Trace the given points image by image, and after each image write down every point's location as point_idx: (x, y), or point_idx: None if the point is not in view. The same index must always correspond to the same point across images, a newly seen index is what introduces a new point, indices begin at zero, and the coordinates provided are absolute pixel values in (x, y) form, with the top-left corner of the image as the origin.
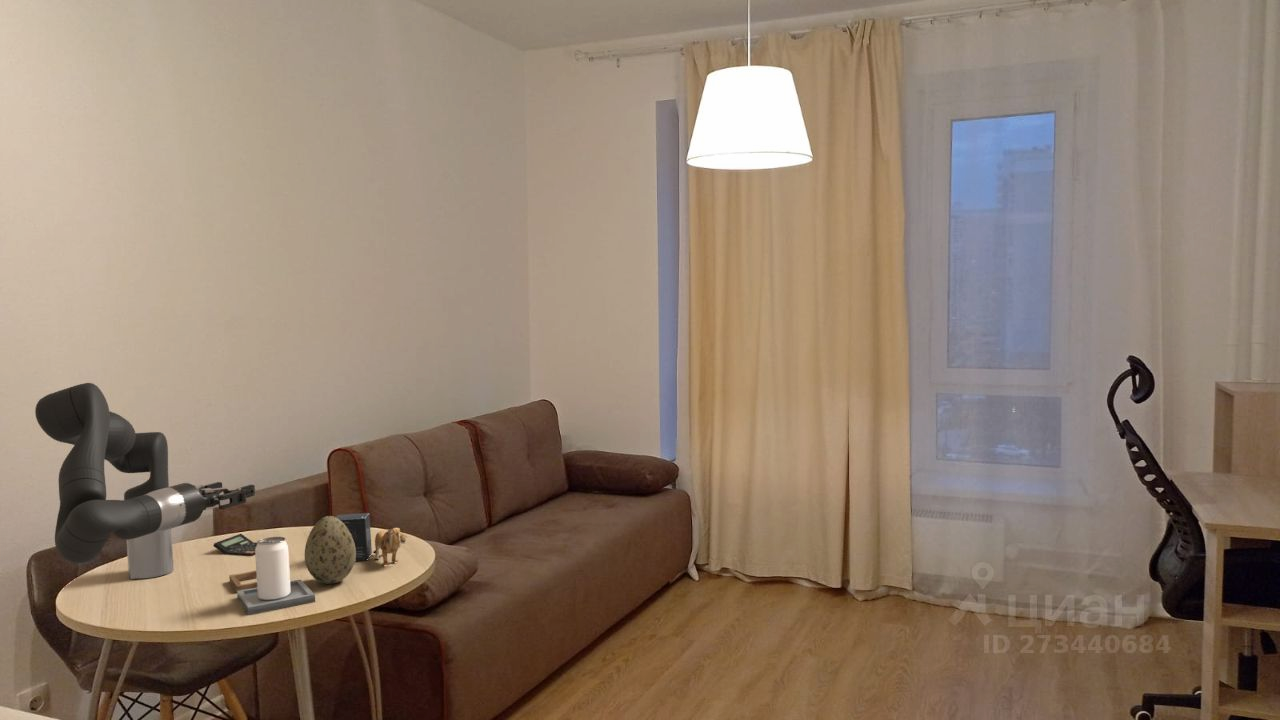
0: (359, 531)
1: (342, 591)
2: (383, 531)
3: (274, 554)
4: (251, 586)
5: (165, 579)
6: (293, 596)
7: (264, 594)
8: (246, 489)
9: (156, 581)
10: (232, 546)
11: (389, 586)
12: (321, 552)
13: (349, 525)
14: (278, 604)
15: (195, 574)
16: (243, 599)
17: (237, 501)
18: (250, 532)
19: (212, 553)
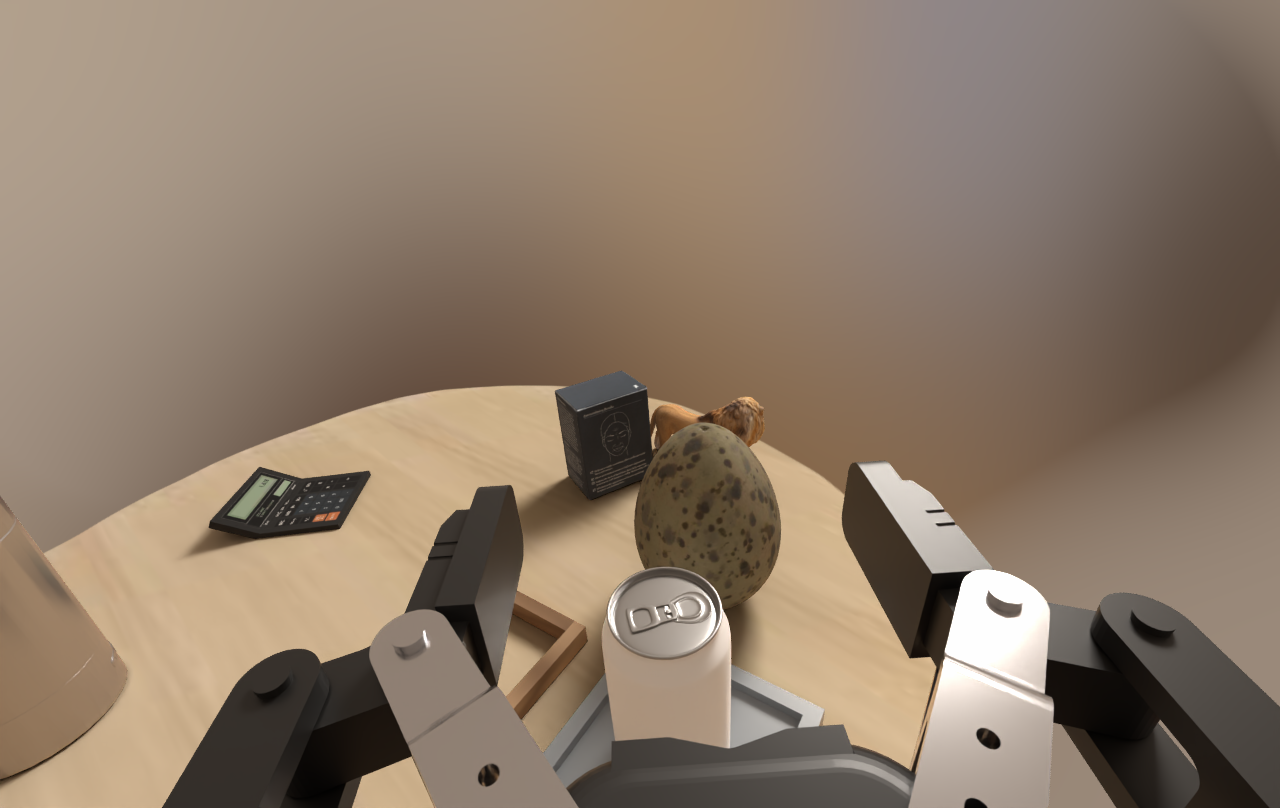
0: (636, 420)
1: (802, 627)
2: (675, 406)
3: (723, 671)
4: (517, 711)
5: (120, 745)
6: (741, 733)
7: None
8: (960, 543)
9: (85, 774)
10: (262, 510)
11: None
12: (745, 550)
13: (615, 413)
14: None
15: (225, 672)
16: None
17: (1151, 779)
18: (259, 445)
19: (213, 544)
